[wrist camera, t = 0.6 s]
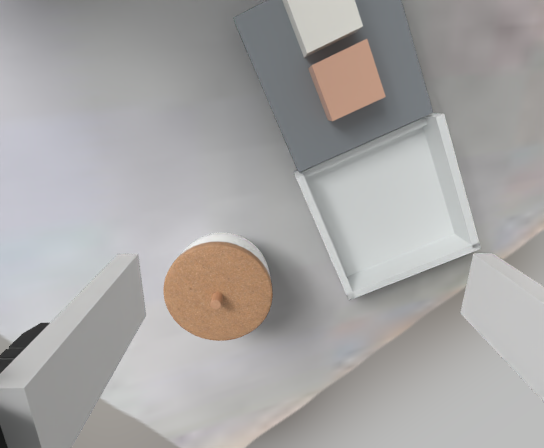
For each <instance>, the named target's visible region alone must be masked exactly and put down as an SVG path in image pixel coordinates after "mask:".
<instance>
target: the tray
mask: <svg viewBox="0 0 544 448" xmlns="http://www.w3.org/2000/svg"><path fill="white" fill-rule="evenodd" d="M294 175H295V177H296V179H297V182H298V184H299V186H300V189H301V191H302V193H303V196H304V198H305V200H306V203H307V205H308V207H309V210H310V212H311V214H312V217H313V219H314V221H315V224H316V226H317V228H318V231H319V233H320V235H321V238H322V240H323V242H324V244H325V247H326V249H327V251H328V254H329V256H330V258H331V261H332V263H333V265H334V268H335V270H336V272H337V275H338V277H339V279H340V282H341V284H342V286H343V289H344V291H345V293H346V296H347V298H348V300H351V299H354V298H356V297H359V296H361V295H364V294H366V293H369V292H372V291H374V290H377V289H379V288H382V287H384V286H387V285H390V284H392V283H395V282H397V281H400V280H402V279H405V278H407V277H410V276H413V275H415V274H418V273H420V272H423V271H425V270H428V269H431V268H433V267H436V266H438V265H441V264H443V263H446V262H448V261H451V260H454V259H456V258H459V257H461V256H464V255H466V254H469V253H472V252H474V251H477V250H479V249H481V247H480V243H479V240H478V236H477V232H476V229H475V225H474V221H473V218H472V214H471V210H470V207H469V203H468V199H467V196H466V192H465V188H464V185H463V181H462V177H461V174H460V170H459V166H458V163H457V159H456V155H455V152H454V148H453V144H452V141H451V137H450V133H449V130H448V126H447V122H446V119H445V115H444V114H439V113H431V114H429V115H427V116H425V117H422V118H420V119H418V120H416V121H413V122H411V123H409V124H407V125H404V126H402V127H400V128H398V129H395V130H393V131H391V132H389V133H387V134H384V135H382V136H380V137H378V138H375V139H373V140H371V141H369V142H366V143H364V144H362V145H360V146H357V147H355V148H353V149H351V150H348V151H346V152H344V153H342V154H339V155H337V156H335V157H333V158H330V159H328V160H326V161H324V162H321V163H319V164H317V165H315V166H312V167H310V168H308V169H306V170H303V171H301V172H298V170H297V171H295V172H294Z"/></svg>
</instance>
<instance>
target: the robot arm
mask: <svg viewBox="0 0 544 448" xmlns="http://www.w3.org/2000/svg"><path fill="white" fill-rule="evenodd" d="M461 315H462V316H463V317H464V318H465V319H466V320H467V321H468V322H469V323H470V324H471V325H472V326H473V327H474V328H475V330H476V331H477V332H478V333H479V334H480V335H481V336H482V337H483V338H484V339H485V340H486V341H487V342H488V343H489V344H490V345H491V347H492V348H493V349H494V350H495V351H496V352H497V353H498V354H499V355H500V356H501V357H502V358H503V359H504V360H505V361H506V363H507V364H508V365H509V366H510V367H511V368H512V369H513V370H514V371H515V372H516V373H517V374H518V375H519V376H520V377H521V379H522V380H523V381H524V382H525V383H526V384H527V385H528V386H529V387H530V388H531V389H532V390H533V391H534V392H535V393H536V395H537V396H538V397H539V398H540V399H542V401H543V402H544V286H542V285H540V284H539V283H537V282H536V281H534V280H533V279H531V278H530V277H528V276H527V275H525V274H524V273H522V272H521V271H519V270H517V269H516V268H514V267H513V266H511V265H510V264H508V263H507V262H505V261H504V260H502V259H501V258H499V257H497V256H496V255H494V254H493V253H473V258H472V262H471V267H470V272H469V276H468V281H467V285H466V290H465V294H464V299H463V304H462V309H461ZM145 316H146V310H145V303H144V295H143V288H142V280H141V273H140V265H139V257H138V254H117V256H116V257H115V258H114V259H113V260H112V261H111V262H110V263H109V264H108V265H107V266H106V267H105V268H104V269H103V270H102V271H101V272H100V273H99V274H98V275H97V276H96V277H95V278H94V279H93V280H92V281H91V282H90V283H89V284H88V285H87V286H86V287H85V288H84V289H83V290H82V291H81V292H80V293H79V294H78V295H77V296H76V297H75V298H74V299H73V300H72V301H71V302H70V303H69V304H68V305H67V306H66V307H65V308H64V309H63V310H62V311H61V312H60V313H59V314H58V315H57V317H56V318H55V319H54V320H53V321H52V322H51V323H40V324H38V325H37V326H35V327H33V328H32V329H30V330H28V331H26V332H25V333H23V334H22V335H21V336H20V337H19V338H18V339H17V340H15V341H14V342H13V343H12V344H11V345H10V346H9V349H6V350H5V351H4V352H3V353H2V354H1V355H0V448H71V447H72V446H73V444H74V442H75V440H76V439H77V437H78V435H79V433H80V431H81V430H82V428H83V426H84V424H85V423H86V421H87V419H88V417H89V416H90V414H91V412H92V410H93V408H94V407H95V405H96V403H97V401H98V400H99V398H100V396H101V394H102V393H103V391H104V389H105V387H106V385H107V384H108V382H109V380H110V378H111V377H112V375H113V373H114V371H115V369H116V368H117V366H118V364H119V362H120V361H121V359H122V357H123V355H124V353H125V352H126V350H127V348H128V346H129V345H130V343H131V341H132V339H133V338H134V336H135V334H136V332H137V330H138V329H139V327H140V325H141V323H142V322H143V320H144V318H145Z"/></svg>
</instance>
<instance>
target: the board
mask: <svg viewBox="0 0 544 448" xmlns="http://www.w3.org/2000/svg"><path fill="white" fill-rule="evenodd" d="M355 2H356V6H357V9H358V12H359V15H360V18H361V21H362V24H363V27H362V28H360V29H359V30H358V31H357V32H356V33H354V34H352V35H350V36H348V37H346V38H344V39H342V40H340V41H337V42H335V43H333V44H331V45H329V46H327V47H325V48H323V49H321V50H319V51H317V52H315V53H313V54H311V55H309V56H307V57H305V58H304V56H303V53H302V51H301V48H300V46H299V43H298V40H297V38H296V35H295V32H294V30H293V27H292V24H291V22H290V19H289V17H288V14H287V11H286V9H285V6H284V3H283V1H282V0H267V1H265V2H263V3H261V4H259V5H257V6H255V7H253V8H251V9H249V10H247V11H245V12H244V13H242V14H240V15H238V16H236V17H234V18H233V19H234V22H235V24H236V27H237V29H238V32H239V34H240V36H241V39H242V41H243V43H244V46H245V48H246V50H247V53H248V55H249V57H250V60H251V62H252V64H253V67H254V69H255V71H256V74H257V76H258V79H259V81H260V83H261V86H262V88H263V90H264V93H265V95H266V97H267V100H268V102H269V104H270V107H271V109H272V111H273V114H274V116H275V118H276V121H277V123H278V125H279V128H280V130H281V132H282V135H283V137H284V140H285V142H286V144H287V147H288V149H289V151H290V154H291V156H292V158H293V161H294V163H295V165H296V168H297V170H298V172H301V171H303V170H306V169H308V168H310V167H312V166H315V165H317V164H319V163H321V162H324V161H326V160H328V159H330V158H333V157H335V156H337V155H339V154H342V153H344V152H346V151H348V150H351V149H353V148H355V147H357V146H360V145H362V144H364V143H366V142H369V141H371V140H373V139H375V138H378V137H380V136H382V135H384V134H387V133H389V132H391V131H393V130H395V129H398V128H400V127H402V126H404V125H407V124H409V123H411V122H413V121H416V120H418V119H420V118H422V117H425V116H427V115H429V114H431V113H433V111H432V107H431V103H430V100H429V96H428V93H427V89H426V86H425V82H424V79H423V75H422V72H421V68H420V65H419V61H418V58H417V54H416V50H415V47H414V43H413V40H412V36H411V33H410V29H409V26H408V22H407V19H406V15H405V12H404V8H403V4H402V1H401V0H355ZM365 39H367V40H368V43H369V46H370V49H371V52H372V55H373V59H374V62H375V65H376V68H377V71H378V74H379V77H380V80H381V83H382V87H383V90H384V93H385V96H386V97H384V98H382V99H380V100H378V101H376V102H373V103H371V104H369V105H367V106H365V107H363V108H360V109H358V110H356V111H354V112H352V113H349V114H347V115H345V116H343V117H341V118H339V119H336V120H334V121H329V120H328V119H327V117H326V114H325V111H324V109H323V106H322V103H321V101H320V98H319V96H318V93H317V90H316V88H315V85H314V82H313V80H312V77H311V75H310V72H309V69H308V68H309V67H310V66H311V65H313V64H315V63H318V62H320V61H322V60H324V59H326V58H328V57H330V56H332V55H334V54H336V53H338V52H340V51H342V50H344V49H347V48H349V47H351V46H353V45H355V44H357V43H359V42H361V41H363V40H365Z"/></svg>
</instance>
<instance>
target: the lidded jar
mask: <svg viewBox="0 0 544 448" xmlns="http://www.w3.org/2000/svg"><path fill="white" fill-rule="evenodd" d="M272 297H273V294H272V283H271V277H270V272H269V268H268V265H267V263H266V260H265V258H264V257H263V255H262V253H261V252H260V250H259V249H258V248H257V247H256V246H255V245H254V244H253V243H251V242H250V241H249V240H247V239H245V238H244V237H241V236H239V235H236V234H232V233H213V234H209V235H206V236H203V237H201V238H199V239H198V240H196V241H194V242H193V243H191V244H190V245H189V246H188V247H187V248H186V249H185V250H184V251H183V252H182V253H181V254H180V255H179V257H178V258H177V259H176V260H175V261H174V263H173V264H172V266H171V267H170V269H169V271H168V273H167V275H166V278H165V282H164V299H165V303H166V306H167V309H168V310H169V312H170V314H171V316H172V317H173V318H174V320H175V321H176V322H177V323H178V324H179V325H180V326H181V327H182V328H184V329H185V330H187V331H188V332H190V333H192V334H194V335H196V336H198V337H201V338H205V339H209V340H218V341H220V340H231V339H236V338H239V337H242V336H244V335H246V334H248V333H250V332H251V331H253V330H254V329H256V328H257V327H258V326H259V325H260V324H261V323H262V322H263V320H264V319H265V318H266V316H267V314H268V312H269V310H270V307H271V304H272Z"/></svg>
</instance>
